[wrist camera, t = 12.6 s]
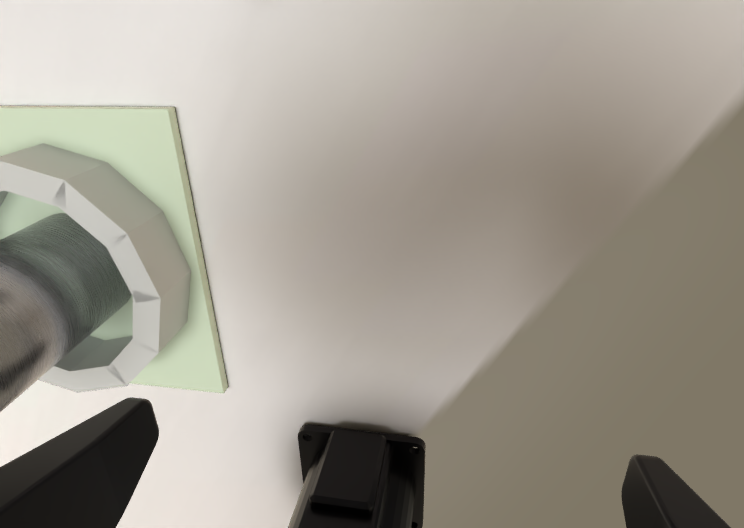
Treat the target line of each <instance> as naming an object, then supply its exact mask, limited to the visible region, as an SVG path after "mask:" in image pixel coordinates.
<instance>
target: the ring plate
mask: <svg viewBox="0 0 744 528" xmlns="http://www.w3.org/2000/svg"><path fill="white" fill-rule="evenodd" d="M59 213H66V214H67V215H69V216H70V217H71V218H72V219H73V220H75V221H76V222H77V223H78V224H79V225H81V226H82V227H83V228H84V229H85V230H87V231H88V232H89V233H90V234H91V235H93V236H94V237H95V238H96V239H97V240H99V241H100V242H101V243H102V244H103V245H105V246H106V247H107V249H108V251H109V253H110V255H111V257H112V258H113V260H114V262H115V264H116V266H117V268H118V270H119V271H120V273H121V275H122V277H123V279H124V281H125V283H126V284H127V286H128V288H129V290H130V292H131V294H132V295H131V298H130V299H129V301H128V302H127V303H126V304H125V305H124V306H123V307H122V308H121V309H119V310H118V311H117V312H116V313H115V314H114V315H112V316H111V317H110V318H109V319H108V320H107V321H105V322H104V323H103V324H102V325H101V326H100V327H98V328H97V329H96V330H95V331H94V332H93V333H92V334H90V335H89V336H88V337H87V338H86V339H85V340H83V341H82V342H81V343H80V344H79V345H78V346H76V347H75V348H74V349H73V350H72V351H71V352H69V353H68V354H67V355H66V356H65V357H64V358H62V359H61V360H60V361H59V362H58V363H57V364H56V365H54V366H53V367H52V368H51V369H50V370H49V371H47V372H46V373H45V374H44V375H43V376H42V377H40V378H39V379H38V380H40V381H44V382H47V383H50V384H53V385H56V386H59V387H62V388H65V389H68V390H71V391H74V392H77V393H78V392H85V391H93V390H100V389H108V388H115V387H123V386H127V385H128V384H129V383H132V384H141V385H151V386H160V387H169V388H178V389H187V390H196V391H205V392H215V393H225V391H226V389H227V388H228V384H227V379H226V374H225V368H224V363H223V358H222V353H221V347H220V342H219V337H218V332H217V327H216V321H215V316H214V311H213V306H212V300H211V295H210V290H209V285H208V280H207V274H206V269H205V264H204V259H203V253H202V248H201V243H200V238H199V233H198V227H197V222H196V217H195V212H194V207H193V201H192V196H191V191H190V186H189V180H188V175H187V170H186V165H185V160H184V154H183V149H182V144H181V139H180V133H179V128H178V123H177V118H176V113H175V107H87V106H0V240H1V239H3V238H5V237H7V236H9V235H11V234H13V233H15V232H17V231H19V230H21V229H23V228H25V227H27V226H29V225H31V224H33V223H35V222H37V221H39V220H41V219H43V218H45V217H47V216H50V215H53V214H59Z"/></svg>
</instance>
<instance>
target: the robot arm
mask: <svg viewBox="0 0 744 528" xmlns="http://www.w3.org/2000/svg"><path fill="white" fill-rule="evenodd" d="M307 434H309V435H307ZM158 436H159V429H158V425H157V421H156V418H155V414H154V411H153V407H152V404H151V402H150V401H149V400H147V399H141V398H127V399H125V400H123V401H121V402H119V403H117V404H115V405H113V406H112V407H110V408H108V409H106V410H104V411H102V412H101V413H99V414H97V415H95V416H93V417H91V418H90V419H88V420H86V421H84V422H82V423H80V424H79V425H77V426H75V427H73V428H71V429H70V430H68V431H66V432H64V433H62V434H60V435H59V436H57V437H55V438H53V439H51V440H49V441H47V442H46V443H44V444H42V445H40V446H38V447H36V448H35V449H33V450H31V451H29V452H27V453H25V454H24V455H22V456H20V457H18V458H16V459H14V460H13V461H11V462H9V463H7V464H5V465H3V466H2V467H0V528H116V526H117V524H118V522H119V521H120V519H121V517H122V515H123V513H124V511H125V509H126V507H127V505H128V503H129V501H130V499H131V497H132V495H133V493H134V490H135V488H136V486H137V484H138V482H139V480H140V478H141V475H142V473H143V471H144V469H145V467H146V465H147V463H148V460H149V458H150V456H151V454H152V452H153V450H154V448H155V445H156V443H157V440H158ZM298 441H299V450H300V458H301V466H302V475H303V483H304V485H303V487H302V490H301V493H300V496H299V498H298V501H297V504H296V507H295V509H294V512H293V515H292V518H291V521H290V523H289V526H288V528H422V525H423V506H424V505H423V504H424V474H425V443H424V441H423V440H422V439H420V438H417V437H410V436H402V435H393V434H385V433H376V432H368V431H359V430H350V429H342V428H333V427H325V426H316V425H304V426H302V427H301V429H300V431H299V433H298ZM413 447H417V448H413ZM622 504H623V510H624V516H625V521H626V527H627V528H731V527H730V526H729V525H727V523H726V522H725V521H724V520H723V519H721V518H720V517H719V516H718V514H717V513H715V512H714V511H713V510H712V509H711V508H710V507H709V506H708V505H707V504H706V503H705V502H704V501H703V500H702V499H701V498H700V497H699V496H698V495H697V494H696V493H695V492H694V491H693V490H692V489H691V488H690V487H689V486H688V485H687V484H686V483H685V482H684V481H683V480H682V479H681V478H680V477H679V476H678V475H677V474H676V473H675V472H674V471H673V470H672V469H671V468H670V467H669V466H668V465H667V464H666V463H665V462H664V461H663V460H661V459H660V458H658V457H654V456H646V455H633V456H632V457H631V459H630V461H629V465H628V469H627V472H626V476H625V480H624V483H623V487H622Z"/></svg>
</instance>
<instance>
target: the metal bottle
mask: <svg viewBox="0 0 744 528" xmlns="http://www.w3.org/2000/svg"><path fill="white" fill-rule="evenodd" d="M131 295H132V294H131V292H130V290H129V288H128V286H127V284H126V283H125V281H124V279H123V277H122V275H121V273H120V271H119V270H118V268H117V266H116V264H115V262H114V260H113V258H112V257H111V255H110V253H109V251H108V249H107V247H106V246H105V245H103V244H102V243H101V242H100V241H99V240H97V239H96V238H95V237H94V236H93V235H91V234H90V233H89V232H88V231H87V230H85V229H84V228H83V227H82V226H81V225H79V224H78V223H77V222H76V221H75V220H73V219H72V218H71V217H70V216H69V215H67V214H66V213H59V214H53V215H50V216H47V217H45V218H43V219H41V220H39V221H37V222H35V223H33V224H31V225H29V226H27V227H25V228H23V229H21V230H19V231H17V232H15V233H13V234H11V235H9V236H7V237H5V238H3V239H1V240H0V412H1V411H2V410H3V409H4V408H6V407H7V406H8V405H9V404H10V403H11V402H13V401H14V400H15V399H16V398H17V397H18V396H19V395H21V394H22V393H23V392H24V391H25V390H26V389H28V388H29V387H30V386H31V385H32V384H33V383H35V382H36V381H37V380H38V379H39V378H40V377H42V376H43V375H44V374H45V373H46V372H47V371H49V370H50V369H51V368H52V367H53V366H54V365H56V364H57V363H58V362H59V361H60V360H61V359H62V358H64V357H65V356H66V355H67V354H68V353H69V352H71V351H72V350H73V349H74V348H75V347H76V346H78V345H79V344H80V343H81V342H82V341H83V340H85V339H86V338H87V337H88V336H89V335H90V334H92V333H93V332H94V331H95V330H96V329H97V328H98V327H100V326H101V325H102V324H103V323H104V322H105V321H107V320H108V319H109V318H110V317H111V316H112V315H114V314H115V313H116V312H117V311H118V310H119V309H121V308H122V307H123V306H124V305H125V304H126V303H127V302H128V301H129V299H130V298H131Z"/></svg>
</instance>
